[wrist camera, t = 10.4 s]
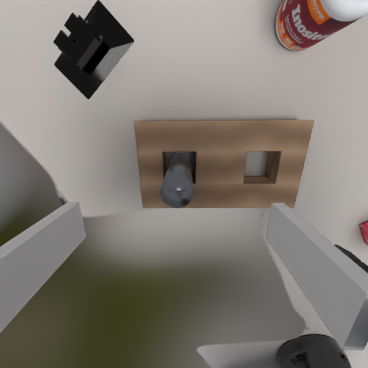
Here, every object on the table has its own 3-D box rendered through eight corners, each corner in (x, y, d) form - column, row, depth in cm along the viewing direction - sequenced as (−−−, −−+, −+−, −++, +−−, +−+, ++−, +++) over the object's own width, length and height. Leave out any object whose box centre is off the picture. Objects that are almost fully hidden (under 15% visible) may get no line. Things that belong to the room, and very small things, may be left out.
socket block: (281, 197, 29) (293, 207, 26) (147, 197, 29) (142, 207, 26) (297, 119, 25) (314, 120, 21) (141, 121, 25) (134, 121, 22)
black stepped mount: (103, -16, 20) (80, -52, 16) (148, 40, 22) (139, 21, 18) (45, 69, 24) (14, 59, 19) (90, 112, 25) (70, 111, 21)
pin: (190, 171, 28) (193, 208, 16) (171, 171, 28) (160, 207, 16) (190, 152, 26) (193, 177, 15) (170, 152, 26) (159, 177, 15)
